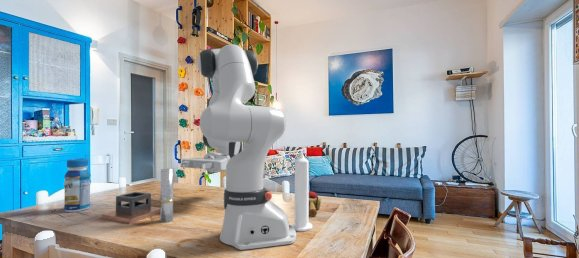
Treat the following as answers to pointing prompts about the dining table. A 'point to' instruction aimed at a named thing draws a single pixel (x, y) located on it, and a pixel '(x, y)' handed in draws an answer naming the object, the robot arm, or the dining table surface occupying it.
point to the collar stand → (132, 208)
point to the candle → (301, 194)
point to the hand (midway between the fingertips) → (191, 165)
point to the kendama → (313, 203)
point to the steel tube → (166, 195)
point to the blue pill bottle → (77, 185)
